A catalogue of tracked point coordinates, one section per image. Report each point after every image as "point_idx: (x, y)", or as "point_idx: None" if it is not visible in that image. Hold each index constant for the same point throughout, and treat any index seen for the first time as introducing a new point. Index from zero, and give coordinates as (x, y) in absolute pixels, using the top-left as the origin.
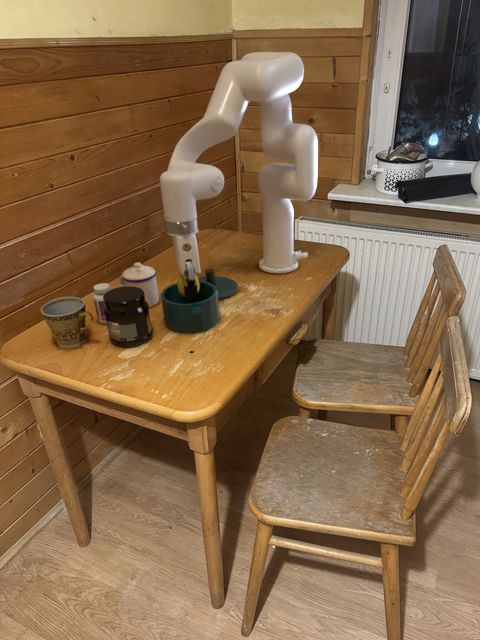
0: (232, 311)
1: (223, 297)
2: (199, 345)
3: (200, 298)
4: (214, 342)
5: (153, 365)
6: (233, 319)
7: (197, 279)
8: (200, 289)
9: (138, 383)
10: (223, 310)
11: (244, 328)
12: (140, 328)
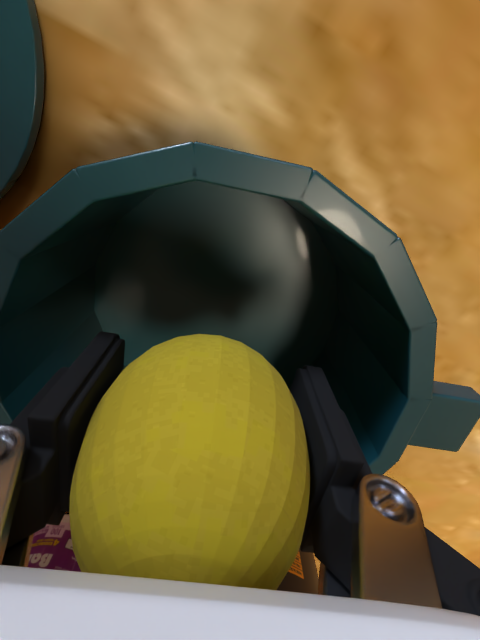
0: (240, 46)
1: (33, 5)
2: (437, 357)
3: (95, 229)
4: (465, 299)
5: (430, 499)
6: (339, 99)
7: (262, 434)
8: (69, 238)
9: (476, 540)
10: (197, 100)
11: (475, 91)
12: (315, 564)
